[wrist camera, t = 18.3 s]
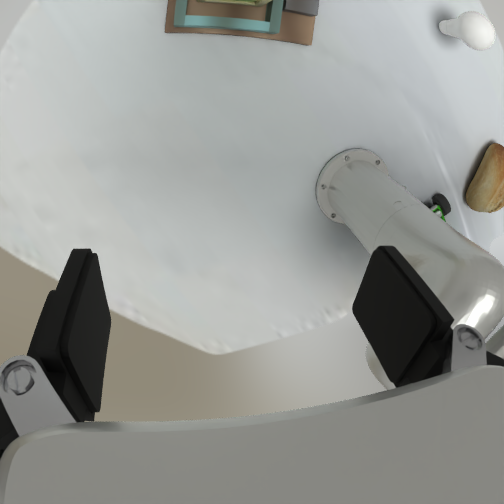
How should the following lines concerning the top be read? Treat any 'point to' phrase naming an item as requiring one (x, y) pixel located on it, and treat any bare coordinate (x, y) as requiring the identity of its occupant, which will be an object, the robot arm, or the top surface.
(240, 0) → the beige long rectangular block
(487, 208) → the bread roll
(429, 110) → the top surface
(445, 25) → the lightbulb
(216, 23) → the board
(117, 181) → the top surface
